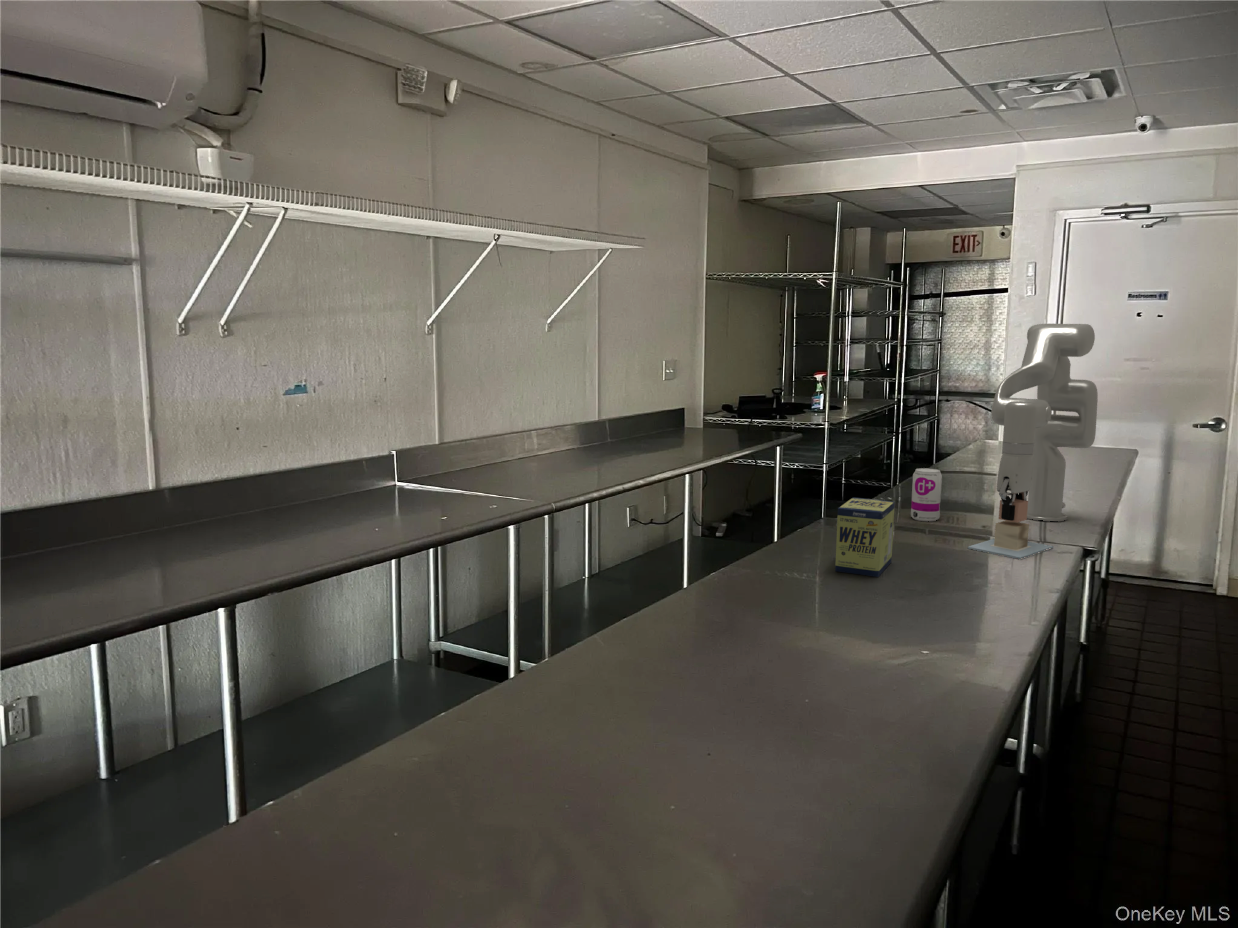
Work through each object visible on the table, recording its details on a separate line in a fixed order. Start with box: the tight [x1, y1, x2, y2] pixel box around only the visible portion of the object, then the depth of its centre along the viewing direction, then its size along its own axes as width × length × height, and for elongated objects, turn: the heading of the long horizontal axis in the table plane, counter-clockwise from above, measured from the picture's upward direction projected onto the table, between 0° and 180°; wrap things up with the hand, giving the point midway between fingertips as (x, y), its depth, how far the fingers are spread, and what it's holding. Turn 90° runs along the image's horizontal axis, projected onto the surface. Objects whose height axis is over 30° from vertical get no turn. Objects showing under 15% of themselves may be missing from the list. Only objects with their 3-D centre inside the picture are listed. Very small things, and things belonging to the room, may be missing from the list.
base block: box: [993, 520, 1030, 550], centre depth 232 cm, size 6×6×6 cm
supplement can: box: [910, 467, 943, 522], centre depth 267 cm, size 8×8×15 cm
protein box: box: [834, 497, 896, 578], centre depth 213 cm, size 10×16×16 cm
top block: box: [998, 497, 1028, 523], centre depth 231 cm, size 5×5×5 cm
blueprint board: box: [967, 538, 1054, 560], centre depth 232 cm, size 18×14×1 cm
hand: (1012, 517), depth 231 cm, fingers closed on top block, 4 cm apart
